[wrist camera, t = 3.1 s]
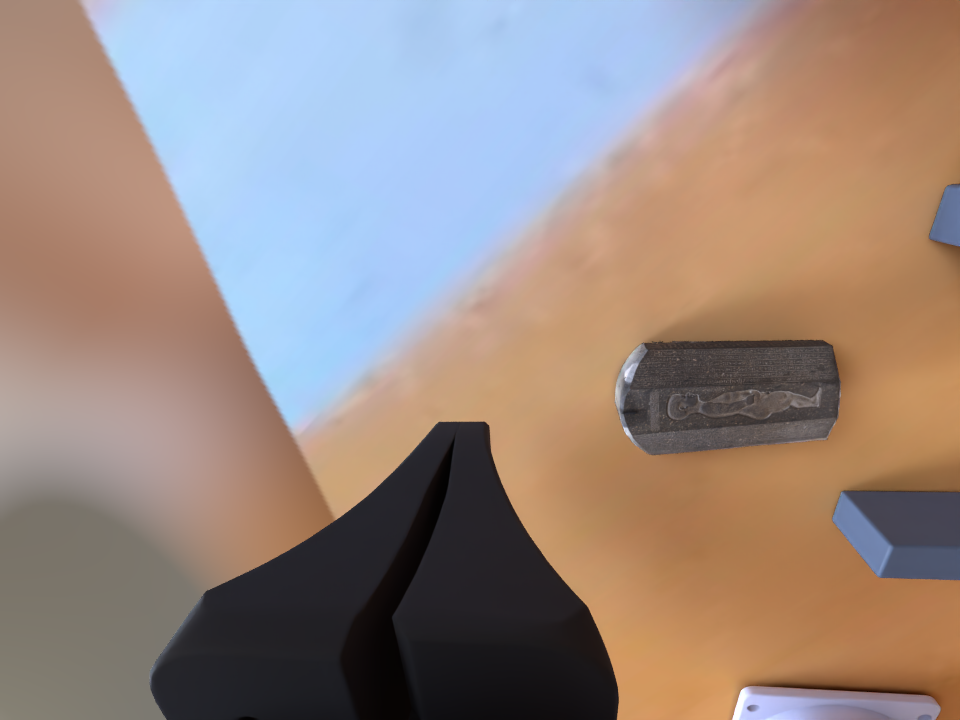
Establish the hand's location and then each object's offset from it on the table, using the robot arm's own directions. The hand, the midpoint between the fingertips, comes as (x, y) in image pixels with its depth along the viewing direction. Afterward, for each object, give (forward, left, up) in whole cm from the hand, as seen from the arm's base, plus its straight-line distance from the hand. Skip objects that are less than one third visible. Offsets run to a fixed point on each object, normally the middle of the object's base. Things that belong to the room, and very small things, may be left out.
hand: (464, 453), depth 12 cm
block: (0, -8, -4) cm, 8 cm away
